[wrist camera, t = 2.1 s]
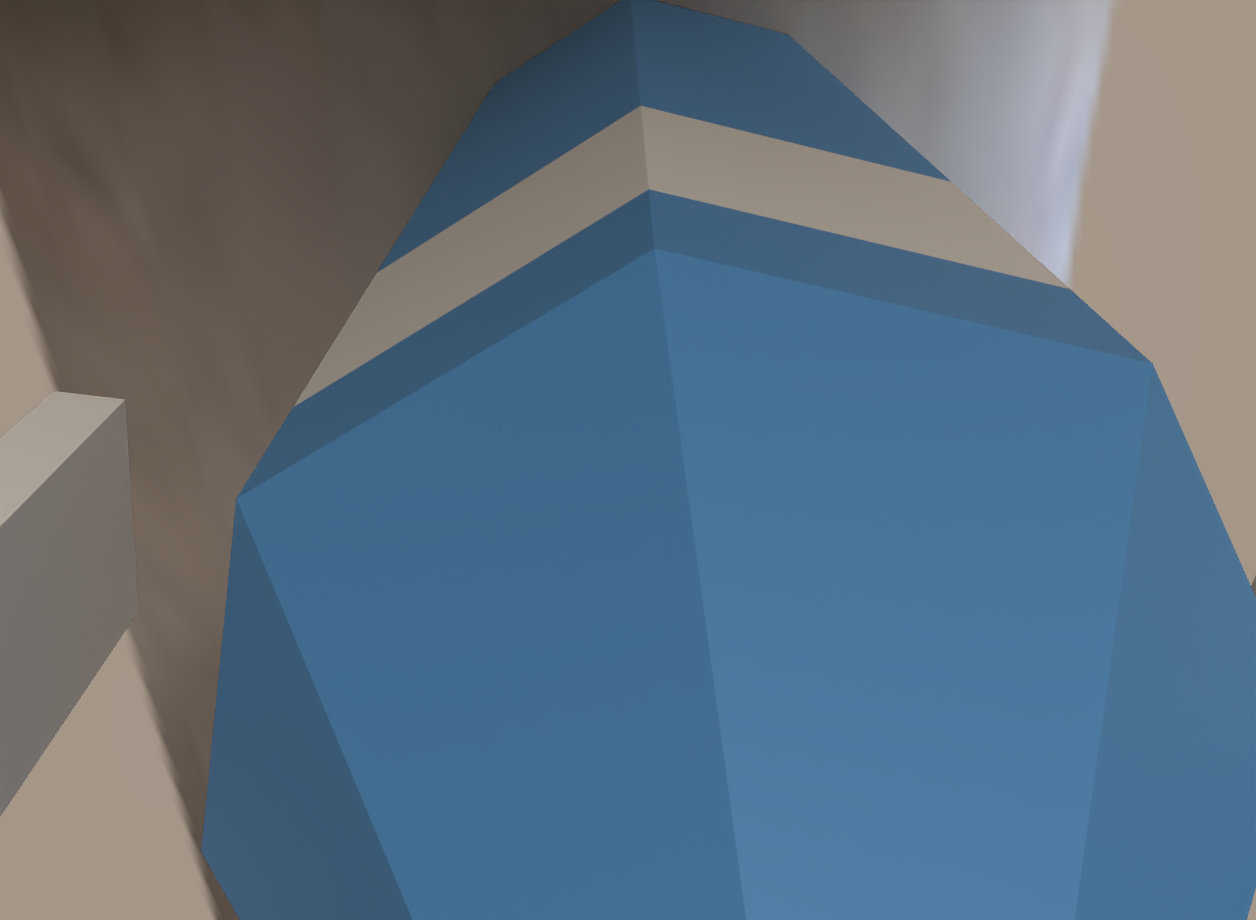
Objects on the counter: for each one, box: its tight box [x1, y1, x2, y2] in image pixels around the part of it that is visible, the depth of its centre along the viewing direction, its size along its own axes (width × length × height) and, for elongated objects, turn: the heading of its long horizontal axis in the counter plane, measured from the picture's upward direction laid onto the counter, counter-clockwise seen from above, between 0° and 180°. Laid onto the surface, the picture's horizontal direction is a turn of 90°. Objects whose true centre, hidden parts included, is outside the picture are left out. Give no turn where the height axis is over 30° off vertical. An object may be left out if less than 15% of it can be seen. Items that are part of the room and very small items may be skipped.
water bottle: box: [201, 0, 1256, 920], centre depth 16 cm, size 9×9×25 cm
